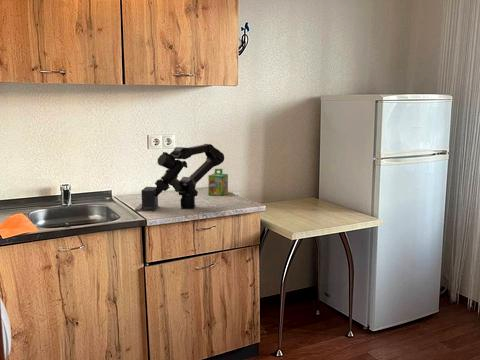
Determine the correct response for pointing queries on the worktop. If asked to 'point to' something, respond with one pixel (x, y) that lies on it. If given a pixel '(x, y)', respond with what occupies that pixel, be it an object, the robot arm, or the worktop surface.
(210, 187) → the chalk box
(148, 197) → the small box
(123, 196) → the worktop surface
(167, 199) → the worktop surface
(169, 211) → the worktop surface
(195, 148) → the robot arm
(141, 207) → the stop strip
